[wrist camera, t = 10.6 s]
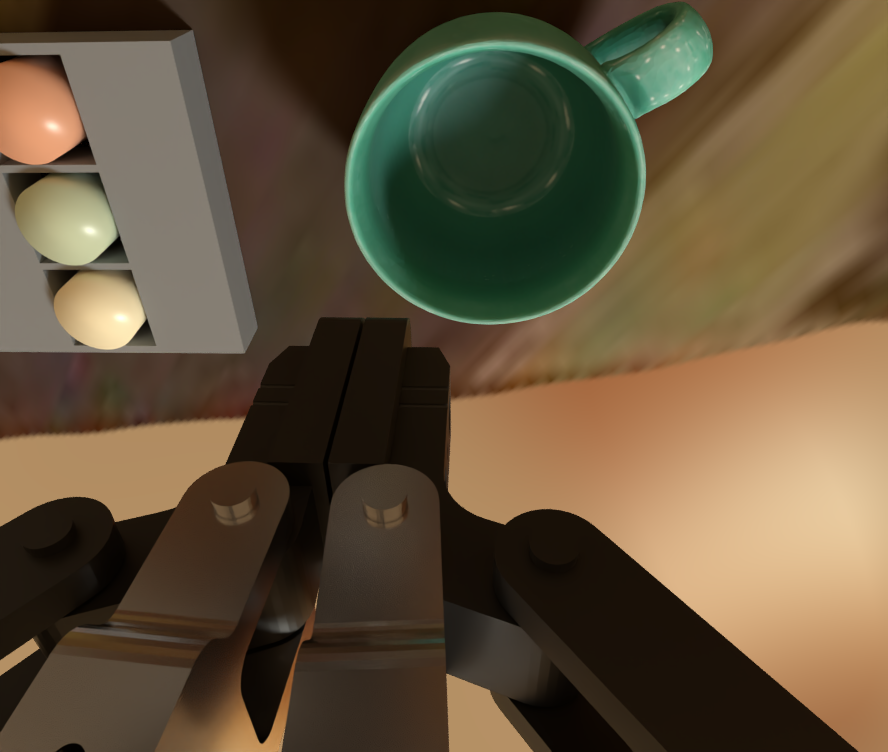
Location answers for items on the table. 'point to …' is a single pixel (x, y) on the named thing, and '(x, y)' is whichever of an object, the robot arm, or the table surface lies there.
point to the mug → (512, 158)
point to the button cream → (100, 308)
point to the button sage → (67, 217)
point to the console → (134, 198)
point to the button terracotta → (37, 110)
